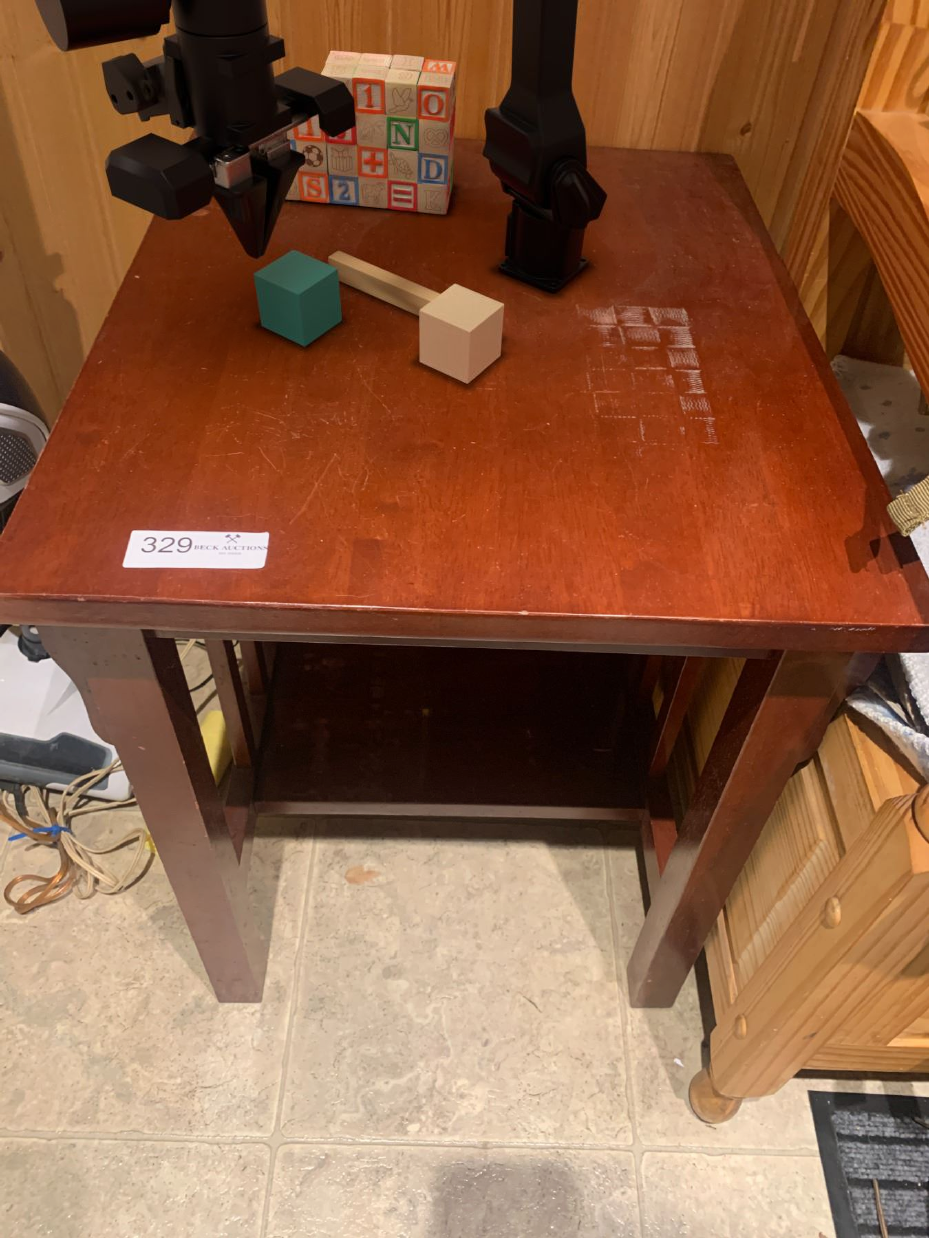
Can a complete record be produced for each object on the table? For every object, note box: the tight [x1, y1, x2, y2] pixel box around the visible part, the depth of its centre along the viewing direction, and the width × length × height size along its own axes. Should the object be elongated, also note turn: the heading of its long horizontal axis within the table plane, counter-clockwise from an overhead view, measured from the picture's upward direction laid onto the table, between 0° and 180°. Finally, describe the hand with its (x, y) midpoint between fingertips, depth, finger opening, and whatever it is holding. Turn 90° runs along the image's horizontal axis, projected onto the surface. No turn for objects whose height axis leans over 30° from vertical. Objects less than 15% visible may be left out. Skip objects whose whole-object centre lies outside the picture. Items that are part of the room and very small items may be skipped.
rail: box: [327, 250, 441, 317], centre depth 82 cm, size 18×2×2 cm, turn 55°
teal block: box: [253, 249, 343, 347], centre depth 79 cm, size 5×5×5 cm
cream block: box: [418, 283, 505, 384], centre depth 76 cm, size 5×5×5 cm
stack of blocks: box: [285, 50, 457, 215], centre depth 91 cm, size 21×6×12 cm, turn 84°
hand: (255, 255), depth 69 cm, fingers closed
